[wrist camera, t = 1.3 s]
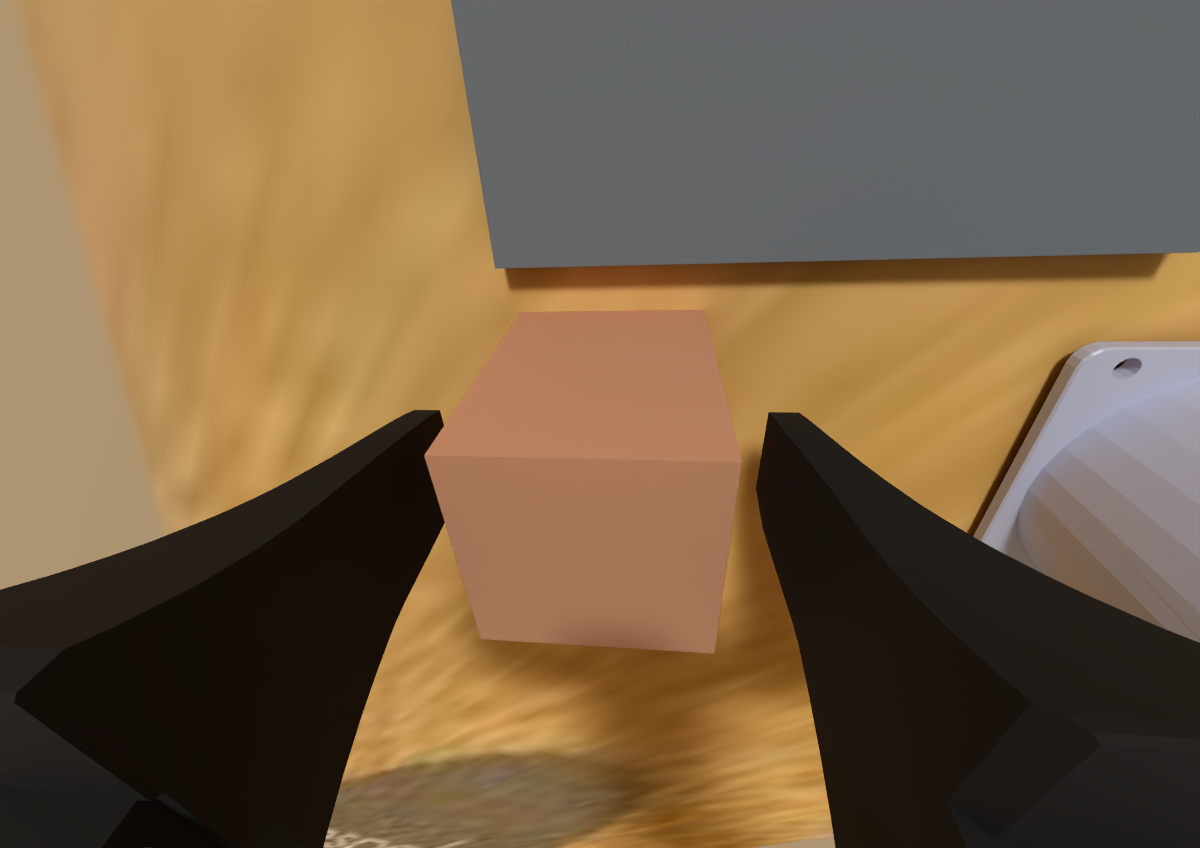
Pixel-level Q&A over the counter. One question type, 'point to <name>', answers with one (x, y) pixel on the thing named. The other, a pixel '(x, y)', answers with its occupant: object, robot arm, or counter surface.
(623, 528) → the block
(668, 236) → the mat
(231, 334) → the counter surface
